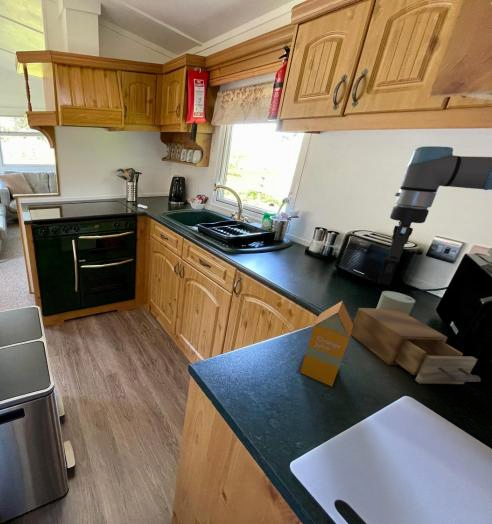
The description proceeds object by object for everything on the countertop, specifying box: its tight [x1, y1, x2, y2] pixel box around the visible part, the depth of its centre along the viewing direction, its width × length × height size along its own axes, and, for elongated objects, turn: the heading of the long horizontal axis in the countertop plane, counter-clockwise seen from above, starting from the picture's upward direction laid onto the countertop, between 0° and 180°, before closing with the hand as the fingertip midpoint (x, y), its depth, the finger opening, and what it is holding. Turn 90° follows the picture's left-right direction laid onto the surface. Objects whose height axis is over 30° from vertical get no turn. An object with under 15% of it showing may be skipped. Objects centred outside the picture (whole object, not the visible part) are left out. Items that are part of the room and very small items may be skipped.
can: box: [375, 290, 416, 316], centre depth 102 cm, size 9×9×12 cm
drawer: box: [394, 339, 482, 385], centre depth 79 cm, size 19×13×8 cm
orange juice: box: [299, 300, 353, 388], centre depth 75 cm, size 8×9×20 cm
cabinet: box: [351, 307, 448, 366], centre depth 89 cm, size 16×14×10 cm
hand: (385, 277), depth 87 cm, fingers open, 13 cm apart
